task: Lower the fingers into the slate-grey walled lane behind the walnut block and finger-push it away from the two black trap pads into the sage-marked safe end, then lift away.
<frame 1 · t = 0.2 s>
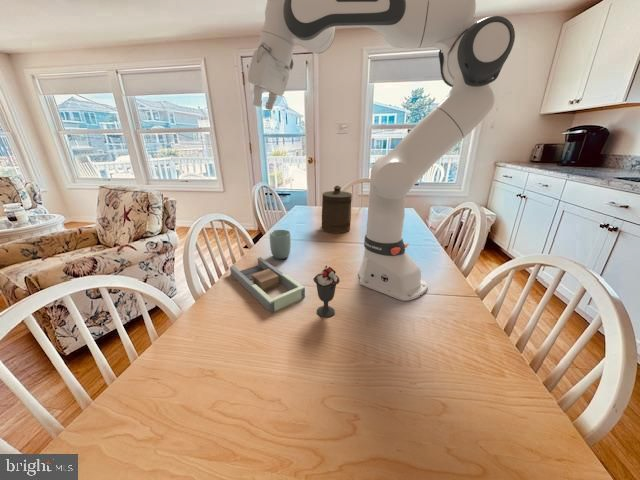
hand: (263, 107, 74), 52 cm above the table, fingers open, 8 cm apart
sundae: (325, 312, 69), on the table
block: (265, 286, 81), resting in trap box
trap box: (265, 284, 81), on the table
wooden container: (335, 228, 132), on the table
cup: (281, 257, 100), on the table
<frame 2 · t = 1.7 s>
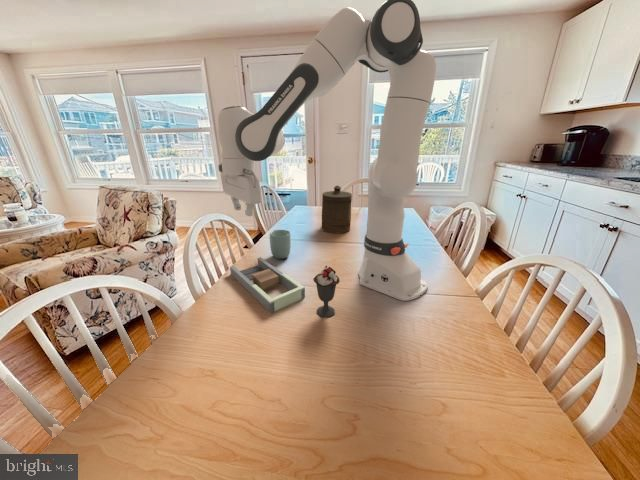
hand: (243, 212, 81), 21 cm above the table, fingers open, 7 cm apart
nothing on the table moved.
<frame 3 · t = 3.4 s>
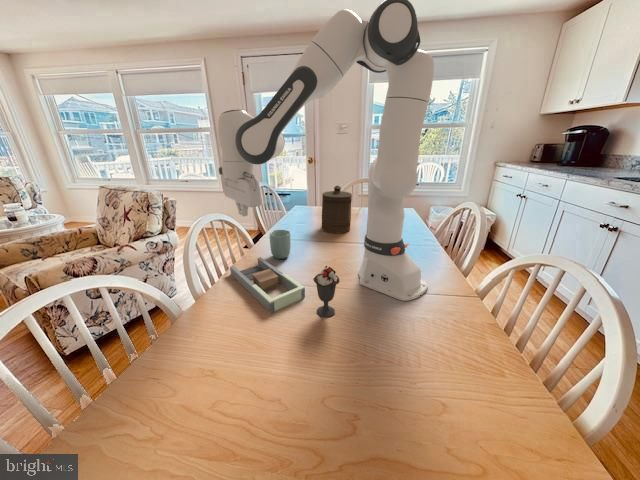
hand: (243, 215, 81), 21 cm above the table, fingers closed
nothing on the table moved.
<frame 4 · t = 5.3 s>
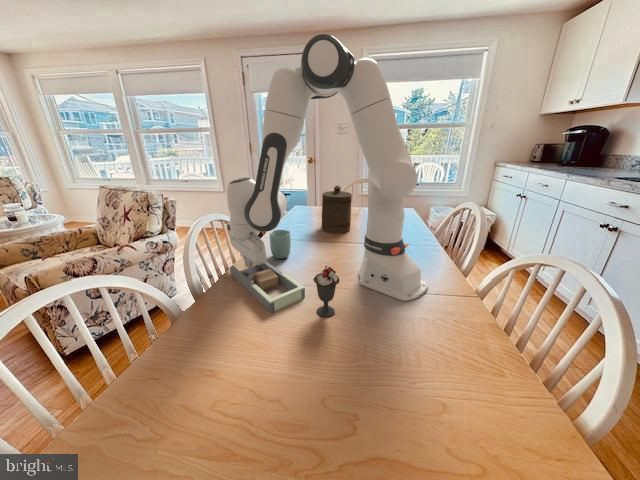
hand: (249, 266, 88), 2 cm above the table, fingers closed
nothing on the table moved.
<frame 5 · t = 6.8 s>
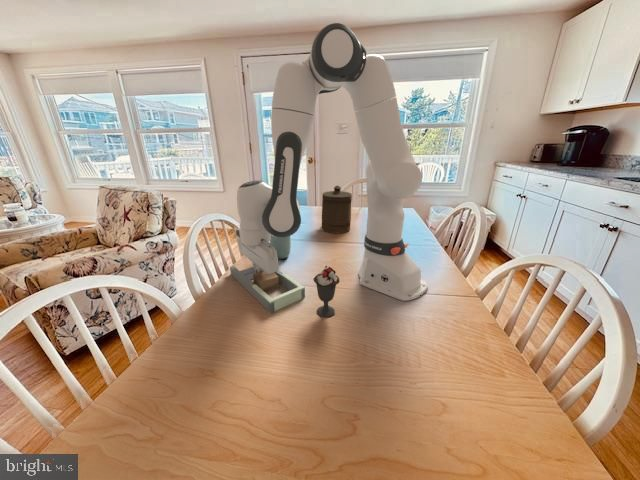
hand: (259, 274, 83), 2 cm above the table, fingers closed
block: (266, 286, 81), resting in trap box, touching gripper
everything else where it was.
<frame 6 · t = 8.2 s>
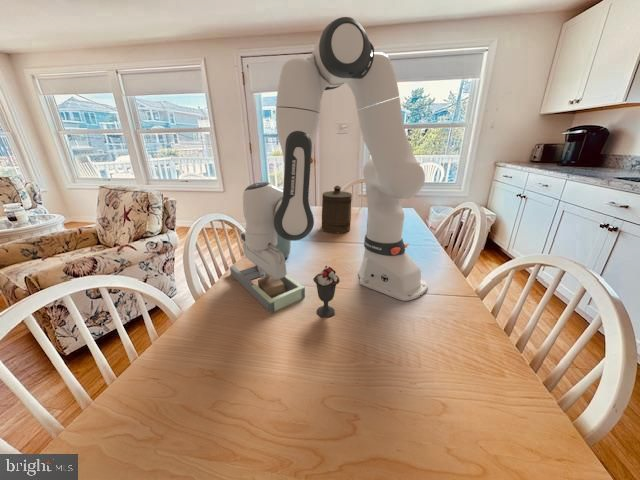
hand: (265, 279, 80), 2 cm above the table, fingers closed
block: (271, 293, 77), resting in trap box
everything else where it was.
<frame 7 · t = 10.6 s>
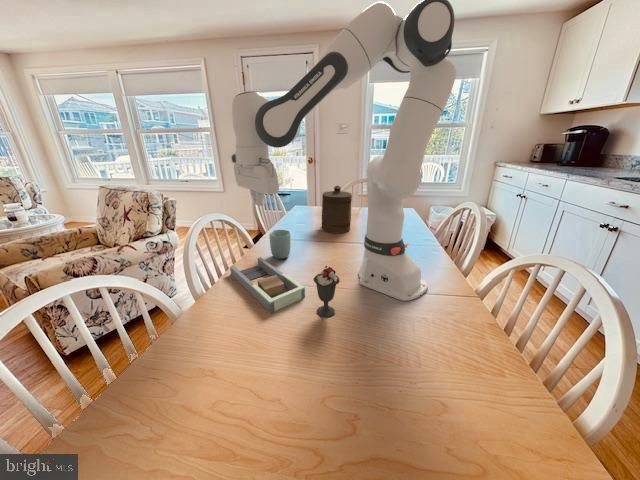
hand: (258, 204, 78), 24 cm above the table, fingers closed
nothing on the table moved.
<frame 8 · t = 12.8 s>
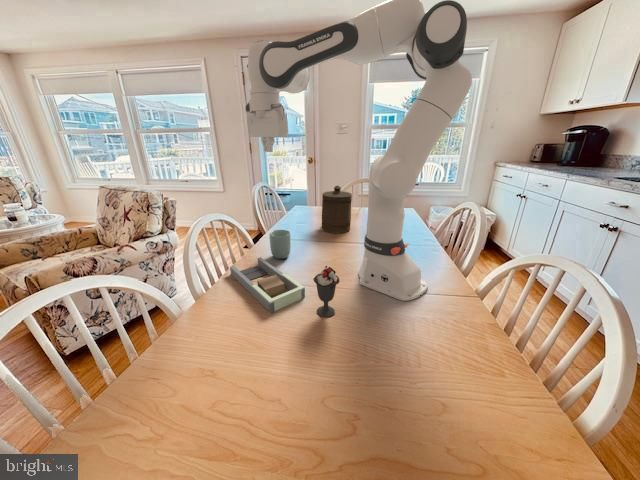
hand: (268, 152, 85), 39 cm above the table, fingers closed
nothing on the table moved.
at the end: block inside the target area on the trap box (1.8 cm from its centre), point 0.0 cm above the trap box's base; block moved 4.7 cm from its start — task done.
